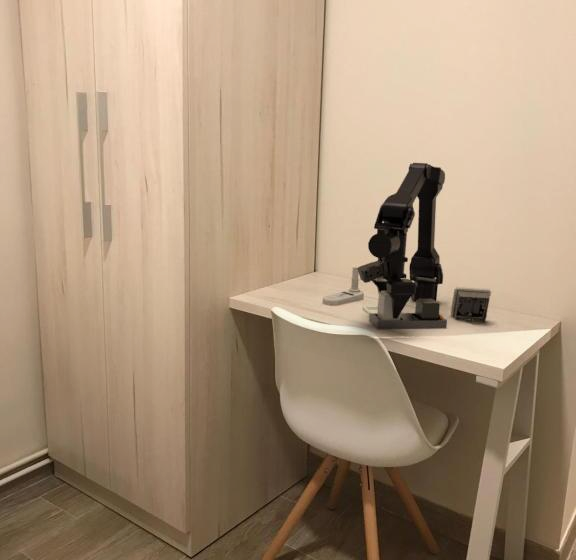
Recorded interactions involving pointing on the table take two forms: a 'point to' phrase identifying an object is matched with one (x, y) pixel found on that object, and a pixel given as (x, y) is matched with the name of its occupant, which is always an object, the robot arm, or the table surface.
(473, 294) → the electrical switch
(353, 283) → the electronic device
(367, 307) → the tray
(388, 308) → the plug
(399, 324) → the strip
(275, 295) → the table surface
